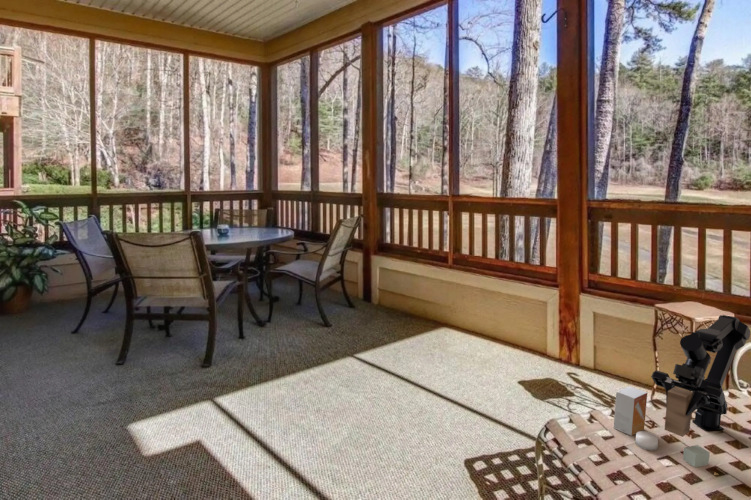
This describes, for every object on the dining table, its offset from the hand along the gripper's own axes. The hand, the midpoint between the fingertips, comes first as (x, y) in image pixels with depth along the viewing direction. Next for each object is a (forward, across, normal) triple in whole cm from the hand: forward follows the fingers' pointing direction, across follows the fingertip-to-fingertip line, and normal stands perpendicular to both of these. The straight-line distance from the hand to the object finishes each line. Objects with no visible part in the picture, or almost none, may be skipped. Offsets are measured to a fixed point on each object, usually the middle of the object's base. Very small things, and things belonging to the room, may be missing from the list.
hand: (676, 411), depth 146 cm
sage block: (+9, +6, +10) cm, 15 cm away
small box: (+7, -15, +13) cm, 21 cm away
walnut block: (+4, 0, +6) cm, 7 cm away
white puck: (+11, -7, +8) cm, 15 cm away
